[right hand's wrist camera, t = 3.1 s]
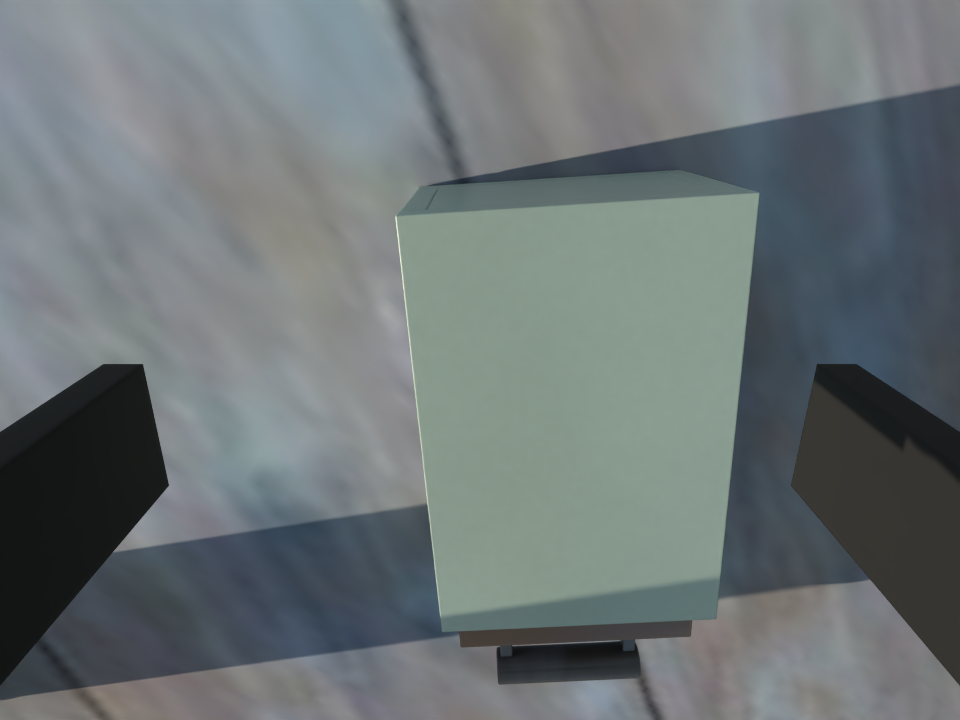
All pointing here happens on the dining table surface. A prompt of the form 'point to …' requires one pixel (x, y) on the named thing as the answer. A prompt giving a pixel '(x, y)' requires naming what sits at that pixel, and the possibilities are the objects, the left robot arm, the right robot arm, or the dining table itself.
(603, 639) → the drawer
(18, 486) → the right robot arm
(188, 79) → the dining table surface
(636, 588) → the cabinet
